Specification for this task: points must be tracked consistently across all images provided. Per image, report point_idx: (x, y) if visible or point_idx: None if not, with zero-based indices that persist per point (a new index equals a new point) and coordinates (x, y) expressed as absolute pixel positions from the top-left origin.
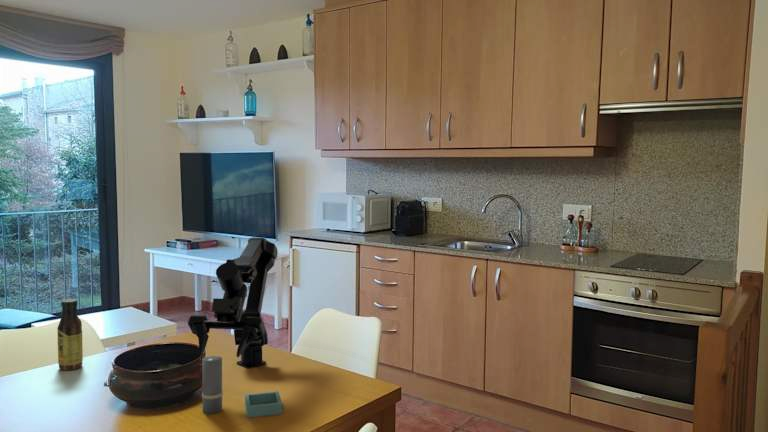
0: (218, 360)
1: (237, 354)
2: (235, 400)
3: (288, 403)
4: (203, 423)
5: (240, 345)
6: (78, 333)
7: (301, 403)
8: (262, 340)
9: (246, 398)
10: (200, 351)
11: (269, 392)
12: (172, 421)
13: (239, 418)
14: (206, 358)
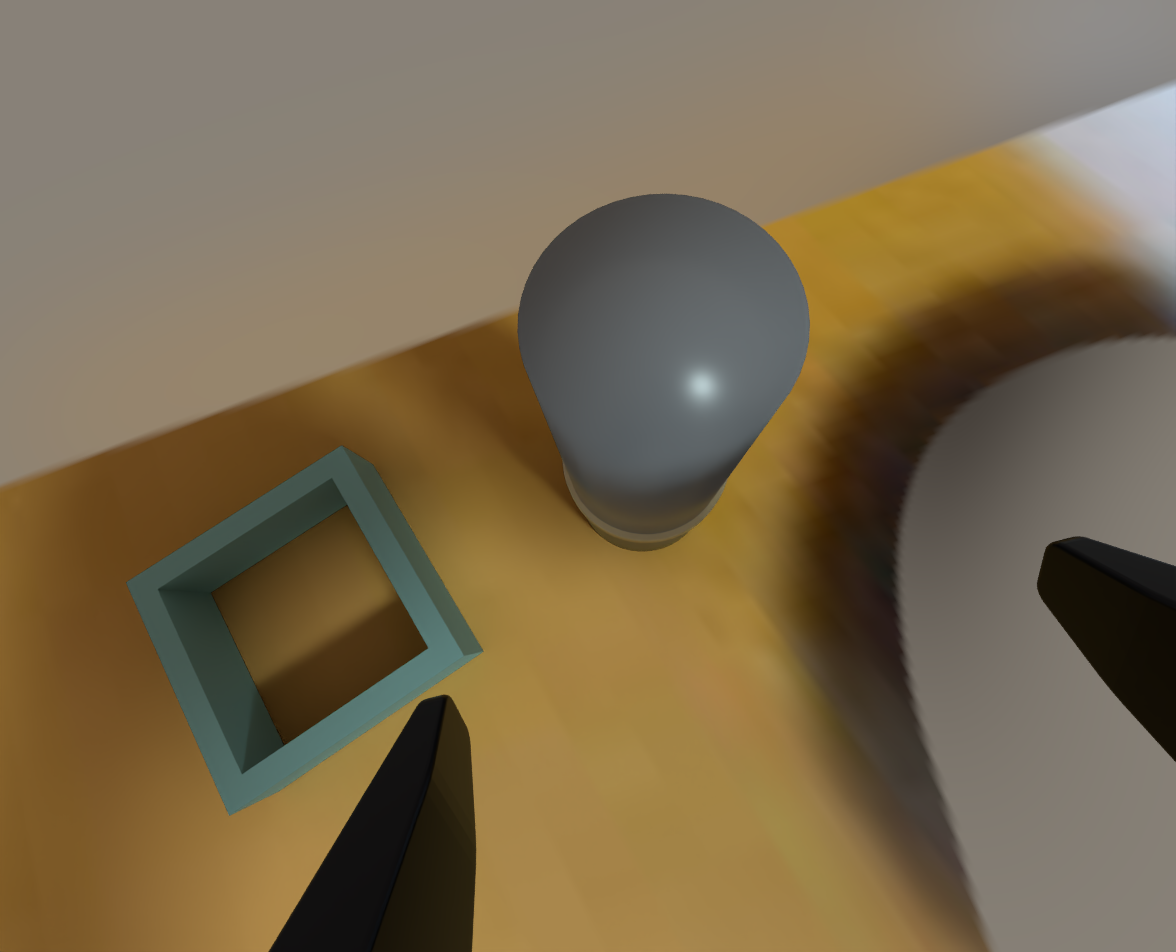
0: (533, 295)
1: (427, 703)
2: (585, 694)
3: (193, 772)
4: None
5: (352, 863)
6: None
7: (102, 805)
8: None
9: (414, 581)
10: (1108, 554)
11: (290, 762)
12: None
13: (413, 438)
14: (757, 306)
